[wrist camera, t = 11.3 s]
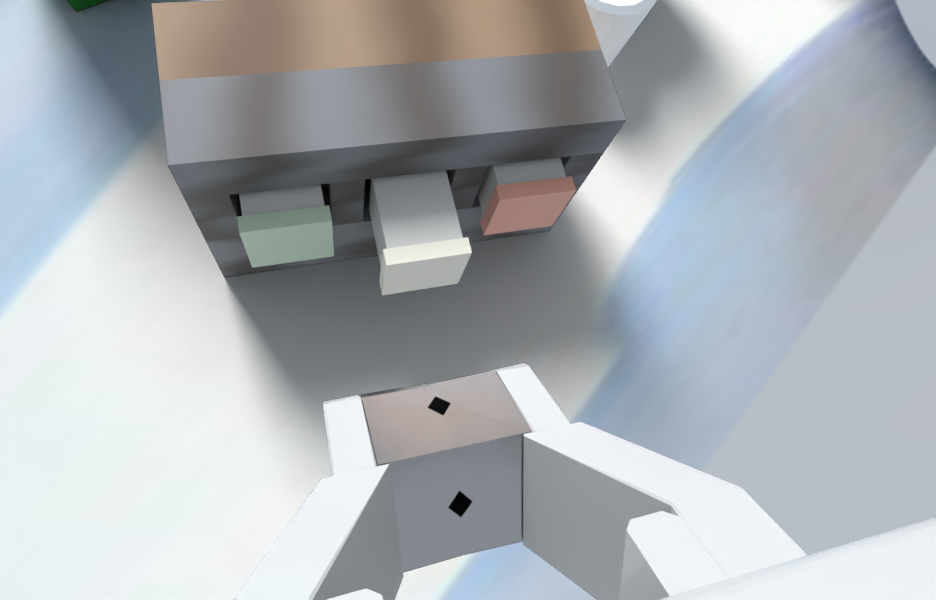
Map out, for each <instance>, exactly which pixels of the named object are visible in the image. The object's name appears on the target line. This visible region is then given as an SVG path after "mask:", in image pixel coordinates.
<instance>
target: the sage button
mask: <svg viewBox="0 0 936 600" xmlns="http://www.w3.org/2000/svg"><path fill="white" fill-rule="evenodd" d="M239 196H240V203H241V211H242V216H237V220H238V227H239V234H240V236H241V239H242V242H243V244H244V247H245V250H246V252H247V255H248V258H249V260H250V263H251V266H252V268H254V267H261V266H268V265H276V264H283V263H290V262H297V261H304V260H311V259H318V258H325V257H333V256H334V247H333V229H332V218H331V212H330V207H329V205H328V206H324V200H323V195H322V189H321V184H319V185H310V186H302V187H293V188H284V189H275V190H266V191H257V192H248V193H239Z"/></svg>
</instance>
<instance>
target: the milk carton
mask: <svg viewBox="0 0 936 600" xmlns="http://www.w3.org/2000/svg"><path fill="white" fill-rule="evenodd" d="M105 1H107V0H68V2H69V3H70V4H71V6H72V7H73V8H74V10H75V11H79V10H82V9H84V8H87V7H90V6H93V5H96V4H99V3H102V2H105Z"/></svg>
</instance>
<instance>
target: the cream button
mask: <svg viewBox="0 0 936 600" xmlns="http://www.w3.org/2000/svg"><path fill="white" fill-rule="evenodd" d="M369 212H370V217H371V222H372V227H373V231H374V236H375V241H376V246H377V251H378V256H379V261H380V266H381V270H380V278H379V283H380V288H381V293H382V296H383V295H389V294H395V293H402V292H408V291H414V290H421V289H427V288H433V287H439V286H446V285H452V284H458V283H459V280H460V278H461V276H462V274H463V272H464V269H465V267H466V265H467V263H468V261H469V258H470V256H471V254H472V250H471V246H470V242H469V238H468V237H466V238H463V236H462V232H461V228H460V224H459V220H458V216H457V212H456V208H455V204H454V200H453V196H452V192H451V188H450V184H449V180H448V176H447V172H446V170H444V171H435V172H426V173H417V174H408V175H399V176H390V177H381V178H373V179H371V185H370V200H369Z"/></svg>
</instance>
